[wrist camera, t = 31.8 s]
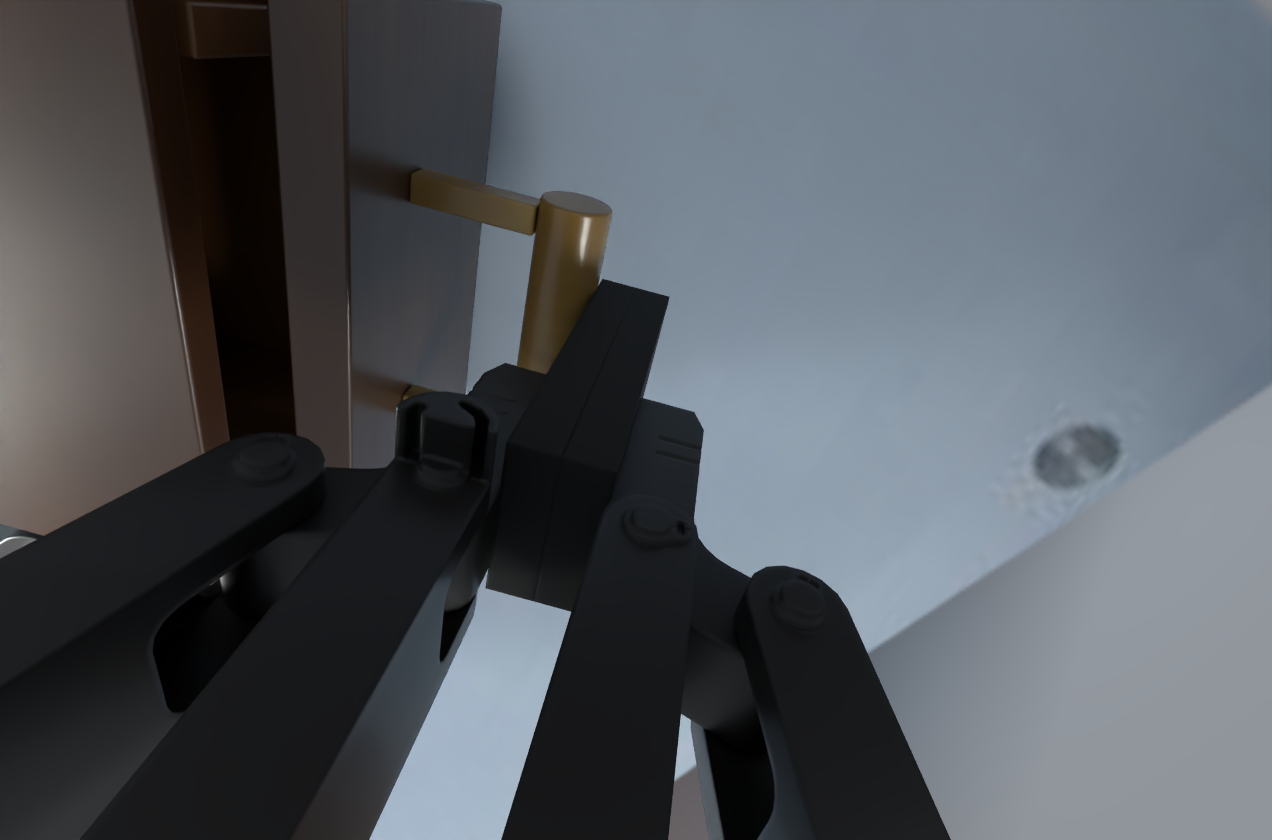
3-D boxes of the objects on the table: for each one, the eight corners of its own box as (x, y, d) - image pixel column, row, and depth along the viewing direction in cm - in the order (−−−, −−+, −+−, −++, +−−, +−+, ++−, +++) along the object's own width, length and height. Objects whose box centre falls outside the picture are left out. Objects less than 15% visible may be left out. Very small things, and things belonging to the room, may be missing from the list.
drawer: (669, 48, 15) (617, 59, 9) (582, 453, 21) (516, 615, 15) (-65, -145, 15) (-575, -256, 9) (57, 310, 21) (-207, 415, 15)
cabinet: (415, -51, 15) (108, -127, 8) (400, 402, 22) (224, 588, 15) (-177, -206, 16) (-1005, -419, 8) (-17, 288, 22) (-396, 415, 15)
